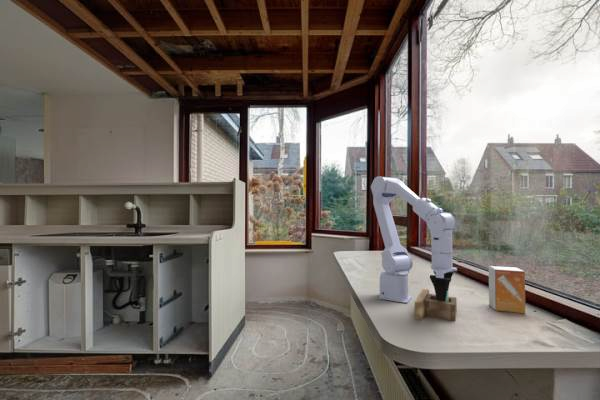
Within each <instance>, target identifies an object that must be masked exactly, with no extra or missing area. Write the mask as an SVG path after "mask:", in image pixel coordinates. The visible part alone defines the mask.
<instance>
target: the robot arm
mask: <svg viewBox="0 0 600 400" xmlns="http://www.w3.org/2000/svg"><path fill="white" fill-rule="evenodd" d="M370 191H371V193H372V202H373V203H372V205H373V208H374V211H375V214H376V215H375V216H376V218H377V221H378V226H379V228H380V234H381V237H382V240H383V244H384V247H385V248H384V249H383V250H382V252H381V253H380V255H381V266H382V269H383V271H382V272H380V275H379V297H378V299H379V300H386V301H390V302H391V301H392V302H398V303H404V304H408V303H409V301H410V300H411V298H412V295H409V274H410V271H411V269H413V263H414V262H413V259H412V257H411V256H410V255H409V252H408V250H407V248H406V247H404V246H403V245H402V244H401V241H400V237H399V234H398V231H397V227H396V224H395V220H394V217H393V213H392V209H391V206H390V203H391V202H392V201H393V200H394V199H395V198H396V197H397V196H399V197H400V198H401V199H403V200H404V201H406V202H407V203H408V204H410V205H411V206H412V210H413V212H414V213H415V214H416V215H417V216H418V217H420V218H421V219H422V220H423V221H424V222H425V223H426V226H427V229H429V232H430V236H431V237H430V239H431V241H430V242H431V266H430V269H431V270H432V272H433V274H434V275H433V274H431V275H430V276H429V279H430V282H431V284H432V285H433V289H434V294H435V295H436V298H437V301H444V302H445V300H446V295H447V291H448V292H449V289H450V283H451V281H452V280H453V279H452V276H453V275H454V273H455V272H458V267H454V265H453V263H454V262H453V230H454V229H455V227H456V225H457V220H456V217H455V216H454V215H453V214H452V213H450V212H444V211H443V210H444V209H443V208H441V207H438V206H437V205H435V204H434V203H433V202H432V199H430V198H426V197H421V198H420V197H419V195H417V193H415V192H414V191H412V190H411V188H409V187H408V186H407V185H406V184H405V183H404V181H403V180H400V178H398V177H389V176H388V177H387V176H379V175H378V176H375V178H374V179H373V181H372V183H371V184H370Z"/></svg>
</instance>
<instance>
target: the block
mask: <svg viewBox="0 0 600 400" xmlns="http://www.w3.org/2000/svg"><path fill="white" fill-rule="evenodd" d="M448 298H449V302H444V301H437V298H436V294H435V293H434V294H433V293H429V294H428V295H427V297H426V299H425V315H424V317H425V316H427V317H431V318H437V319H442V320H448V321H453V322H455V321H456V320H457V319H456V318H457V311H458V309H457V307H458V306H457V303H458V302H457V297H456V296H449V295H448Z"/></svg>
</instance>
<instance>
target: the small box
mask: <svg viewBox="0 0 600 400" xmlns="http://www.w3.org/2000/svg"><path fill="white" fill-rule="evenodd" d="M488 304H489V307H491V308H492V309H493V310H494V311H497V312H498V311H499V312H508V313H509V312H510V313H517V314H523V313H525V314H526V271H524V270H522V269H520V268H519V267H515V266H514V267H512V266H495V265H494V266H493V265H488Z"/></svg>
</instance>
